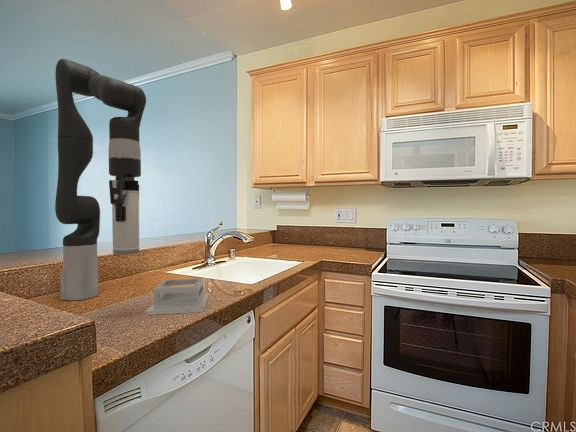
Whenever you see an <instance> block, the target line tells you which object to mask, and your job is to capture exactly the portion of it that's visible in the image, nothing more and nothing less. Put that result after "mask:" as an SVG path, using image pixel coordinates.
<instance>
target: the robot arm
mask: <svg viewBox="0 0 576 432" xmlns="http://www.w3.org/2000/svg"><path fill="white" fill-rule="evenodd" d="M55 65H56V66H55V71H54V72H55V73H54V74H55V77H54V78H55V86H56V87H55V89H56V97H57V112H58V113H57V115H58V117H57V119H58V120H57V121H58V122H57V156H58V157H57V164H58V165H57V169H58V171H57V182H56V183H57V184H56V192H55V203H54V211H55V216H56V219H57V221H58V222H59V223H61V224H62V225H63V224H64V225H77V226H76V229H75V230H74V231H72V232H71V233H69V234H67V235H64V237H63V238H62V260H63V261H62V262H63V263H62V265H63V266H62V269H60V271H59V280H60V281H59V283H60V284H59V286H60V287H59V288H60V300H62V301H63V300H64V301H79V300H80V301H82V300H87V299H92V298H94V297H97V296H98V295H99V277H98V275H99V272H98V271H99V270H98V269H99V268H98V239H99V235H100V226H101V225H100V223H101V208H100V203H99V202H98V200H97V199H96V198H95V197H93V196H89V195H78V184H79V181H80V178H81V176H82V174H83V173H84V172H85V170H86V168H88V166H89V164H90V163H91V161H92V159H93V157H94V138H93V137H94V136H93V134H92V132H91V129H90V127H89V126H88V125H87V123H86V122H85V119H84V118H83V117H82V115H81V114H80V112H79V111H78V108H77V106H76V104H75V100H74V95H73V93H74V94H77V95H80V96H85V97H94V98H95V99H97V100H98V101H101V102H102V103H103V104H104V105H106V106H108V107H111V108H114V109H119V110H122V111H126V112H127V115H126V116H114V117H112V118H110V119H109V124H108V128H109V131H108V132H109V134H108V135H109V137H108V138H109V141H108V143H109V144H108V175H109V176H112V177H115V179H109V181H108V184H109V186H108V187H109V188H108V189H109V200H110V204H111V205H112V204H114V207H115V213H116V221H117V222H124V221H126V207H125V206H126V199H128V198H129V189H128V191H126V194H124V195H122V189H123V190H125V189H126V181H134V180H135V178H139V177H141V176H142V153H141V152H142V151H141V143H140V128H141V121H142V117H143V115H144V111H145V108H146V105H147V96H146V94H145V92H144V90H143V89H142V88H141V87H140V86H137V85H134V84H131V83H128V82H125V81H122V80H119V79H116V78H114V77H113V78H112V77H110V76H106V75H102V74H100V73H99V71H96V70H95V69H93V68H92V67H90V66H87V65H84V64H80V63H79V62H75V61H73V60H69V59H67V58H60V59H59V60H58V61H56V64H55ZM115 189H117V190H115ZM138 191H139V193H138V194H139V195H140V185H139V183H138ZM117 194H118V195H117ZM114 198H115V199H114ZM118 198H119V199H118Z"/></svg>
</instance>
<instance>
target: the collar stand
mask: <svg viewBox="0 0 576 432" xmlns="http://www.w3.org/2000/svg"><path fill="white" fill-rule="evenodd" d="M183 285H185V286H183ZM186 285H187V286H186ZM188 285H189V286H188ZM190 285H192V286H190ZM193 285H194V286H193ZM171 286H172V287H171ZM209 297H210V293H206V292H205V293H204V278H201V277H200V278H182V279H181V278H180V279H179V278H177V279H176V278H175V279H163V280H162V281H161V282H160V283H159V284H158V285H156V286H155V287H154V288H153V303H152V304H151V305H150V306H149V307H148V308H147V310H146V311H145V316H154V315H173V314H175V315H176V314H190V313H203V312H204V310H205V308H206V305H207V302H208V300H209Z"/></svg>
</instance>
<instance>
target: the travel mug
mask: <svg viewBox="0 0 576 432" xmlns="http://www.w3.org/2000/svg"><path fill="white" fill-rule="evenodd" d="M138 184H139V180H135V179H134V181H126V189H125V190H123V189H122V195H124V194H126V191H128V189H129V198H128V199H126V206H125V207H126V221H124V222H117V221H116V213H115V207H114V204H111V208H112V209H111V210H112V212H111V213H112V214H111V215H112V217H111V219H112V223H111V224H112V254H113V255H115V256H116V255H117V256H118V255H119V256H122V255H123V256H124V255H133V254H139V253H140V211H139V210H140V190H139V191H138ZM115 190H117V189H115ZM138 193H139V194H138ZM117 195H118V194H117ZM114 199H115V198H114ZM118 199H119V198H118Z"/></svg>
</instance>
